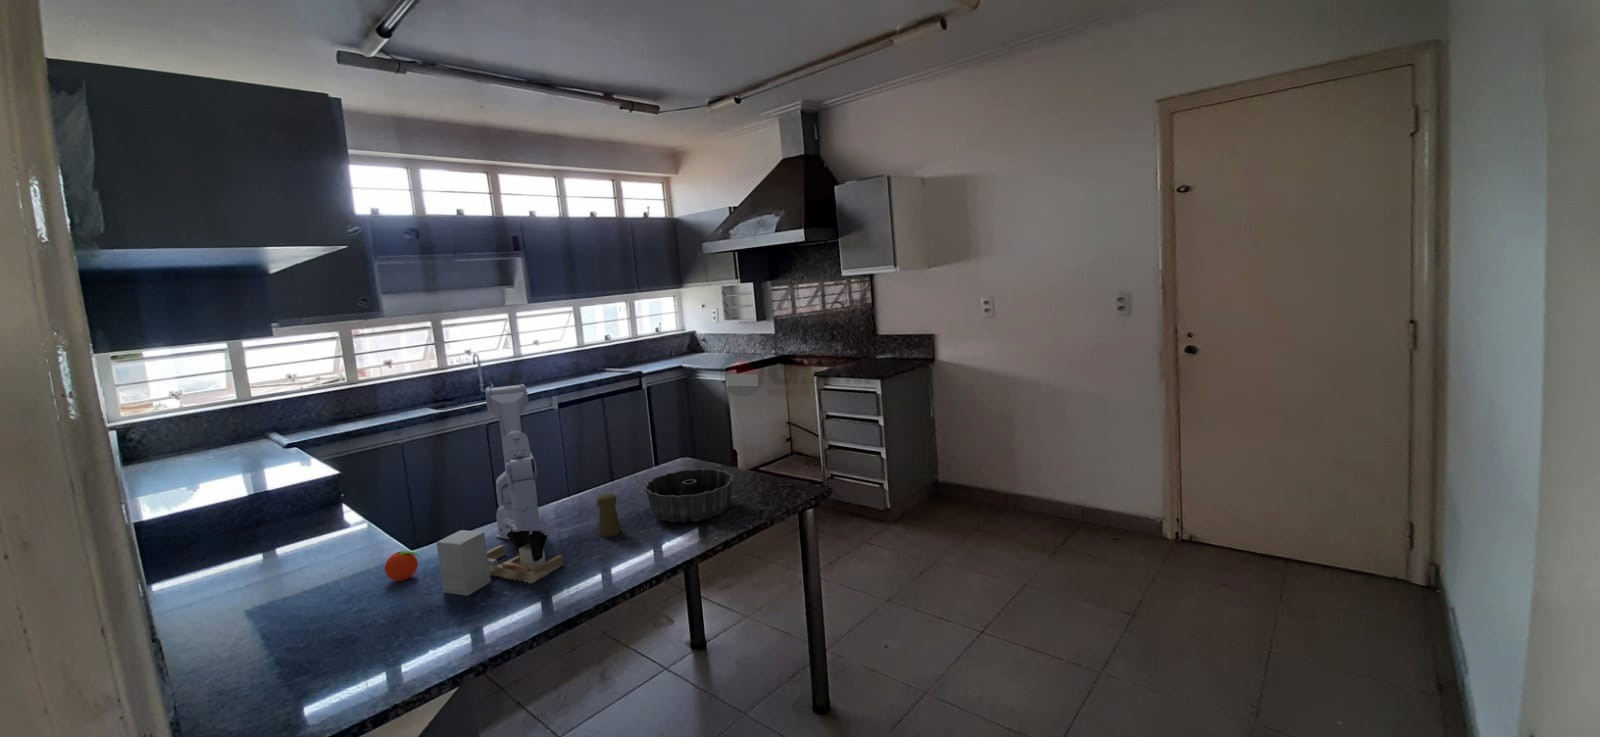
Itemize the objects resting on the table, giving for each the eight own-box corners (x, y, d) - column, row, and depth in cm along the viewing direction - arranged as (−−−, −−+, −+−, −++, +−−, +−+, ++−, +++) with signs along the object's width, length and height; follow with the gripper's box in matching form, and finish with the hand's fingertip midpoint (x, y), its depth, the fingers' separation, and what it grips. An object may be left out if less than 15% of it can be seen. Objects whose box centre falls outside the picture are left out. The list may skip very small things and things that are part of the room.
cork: (617, 536, 177) (613, 498, 176) (595, 537, 178) (591, 499, 176) (623, 527, 183) (620, 490, 182) (602, 528, 184) (598, 491, 182)
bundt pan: (643, 505, 201) (640, 474, 200) (726, 492, 209) (724, 463, 208) (650, 536, 177) (647, 501, 175) (744, 521, 184) (742, 487, 183)
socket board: (468, 570, 160) (466, 556, 160) (502, 553, 170) (500, 540, 169) (531, 583, 152) (529, 568, 151) (563, 565, 161) (561, 551, 161)
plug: (520, 567, 158) (518, 546, 158) (533, 560, 162) (531, 539, 161) (533, 570, 157) (530, 548, 156) (545, 563, 160) (543, 541, 160)
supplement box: (492, 581, 154) (485, 531, 152) (467, 596, 147) (460, 544, 145) (468, 578, 156) (461, 528, 154) (442, 593, 149) (435, 541, 148)
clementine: (427, 570, 162) (423, 543, 161) (420, 582, 155) (416, 554, 154) (391, 575, 160) (387, 548, 159) (382, 588, 153) (378, 560, 152)
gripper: (489, 508, 156) (496, 561, 158) (534, 514, 150) (540, 569, 152) (513, 498, 162) (519, 549, 164) (557, 504, 157) (562, 557, 159)
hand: (531, 558), depth 159 cm, fingers closed on plug, 4 cm apart
